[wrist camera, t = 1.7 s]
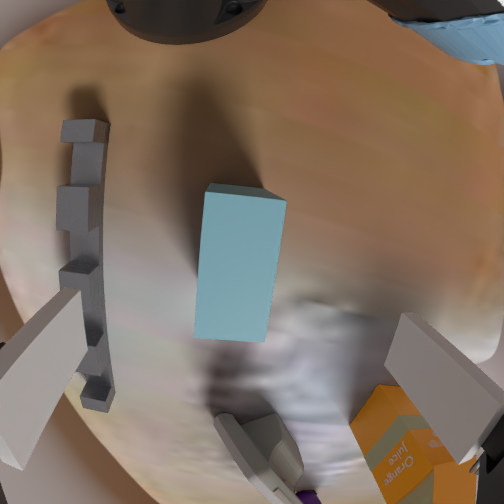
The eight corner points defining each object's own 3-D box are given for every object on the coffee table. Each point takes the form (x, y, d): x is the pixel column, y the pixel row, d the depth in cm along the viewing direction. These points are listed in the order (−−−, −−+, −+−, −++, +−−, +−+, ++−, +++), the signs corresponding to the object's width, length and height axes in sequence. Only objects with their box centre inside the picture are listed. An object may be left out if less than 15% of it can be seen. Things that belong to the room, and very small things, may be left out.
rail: (80, 124, 22) (62, 120, 19) (110, 124, 23) (95, 118, 19) (91, 388, 30) (82, 407, 26) (115, 392, 30) (107, 413, 27)
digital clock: (209, 407, 32) (210, 482, 21) (287, 391, 32) (310, 463, 22) (240, 475, 36) (247, 534, 26) (301, 463, 37) (317, 520, 27)
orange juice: (393, 426, 37) (452, 524, 18) (348, 425, 35) (403, 544, 16) (423, 387, 35) (499, 484, 16) (378, 382, 33) (458, 504, 14)
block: (210, 182, 25) (205, 191, 16) (263, 188, 26) (286, 200, 17) (200, 284, 27) (194, 337, 19) (250, 288, 28) (264, 342, 19)
